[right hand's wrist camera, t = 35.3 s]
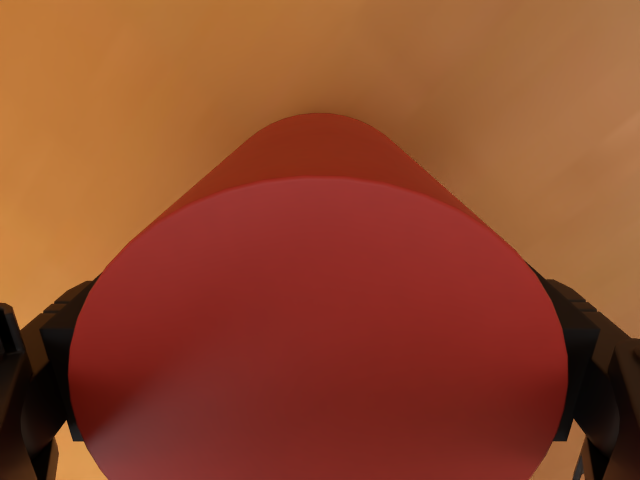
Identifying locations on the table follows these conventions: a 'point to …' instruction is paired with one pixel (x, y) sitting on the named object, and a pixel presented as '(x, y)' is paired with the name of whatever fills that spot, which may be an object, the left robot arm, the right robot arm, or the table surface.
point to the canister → (318, 327)
